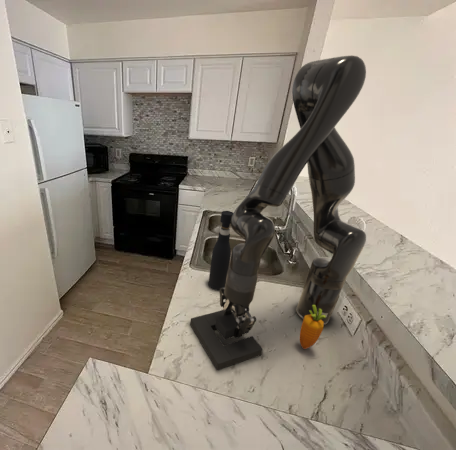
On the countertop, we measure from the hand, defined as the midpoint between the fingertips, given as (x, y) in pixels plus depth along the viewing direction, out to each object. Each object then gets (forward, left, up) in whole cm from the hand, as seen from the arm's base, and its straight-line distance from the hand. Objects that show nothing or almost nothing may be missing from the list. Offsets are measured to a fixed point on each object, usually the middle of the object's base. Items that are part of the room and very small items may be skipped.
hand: (231, 328), depth 74 cm
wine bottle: (-9, -22, -4) cm, 24 cm away
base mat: (+2, 0, -3) cm, 4 cm away
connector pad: (0, 0, 0) cm, 0 cm away
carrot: (-18, +10, -4) cm, 21 cm away
